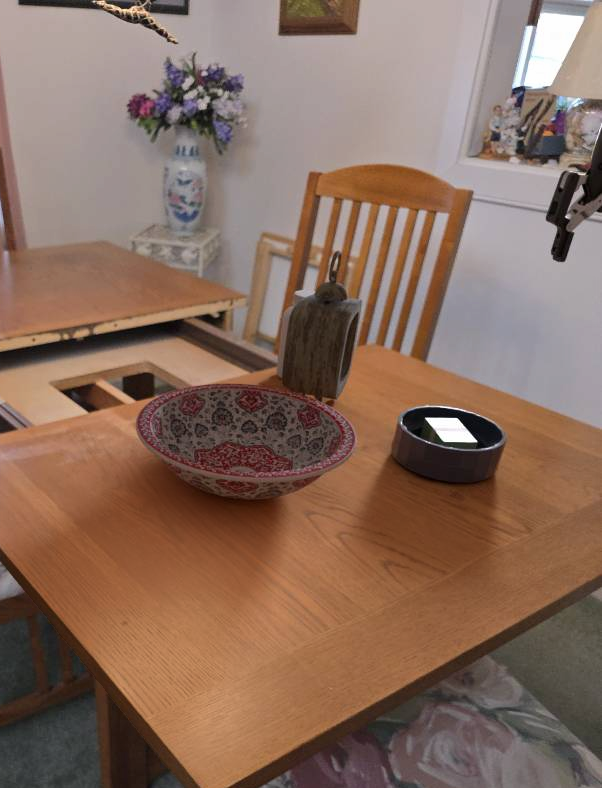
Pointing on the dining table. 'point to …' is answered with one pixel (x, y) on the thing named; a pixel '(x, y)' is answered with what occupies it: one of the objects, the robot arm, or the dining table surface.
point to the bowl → (446, 459)
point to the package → (447, 433)
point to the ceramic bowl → (245, 438)
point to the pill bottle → (296, 298)
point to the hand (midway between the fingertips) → (589, 262)
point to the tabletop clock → (321, 340)
